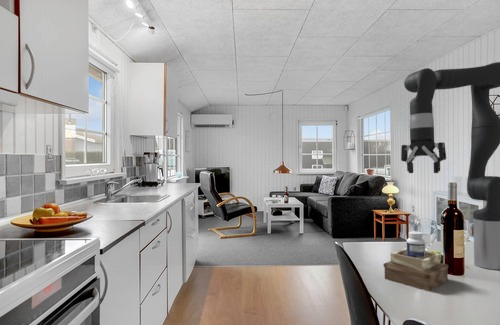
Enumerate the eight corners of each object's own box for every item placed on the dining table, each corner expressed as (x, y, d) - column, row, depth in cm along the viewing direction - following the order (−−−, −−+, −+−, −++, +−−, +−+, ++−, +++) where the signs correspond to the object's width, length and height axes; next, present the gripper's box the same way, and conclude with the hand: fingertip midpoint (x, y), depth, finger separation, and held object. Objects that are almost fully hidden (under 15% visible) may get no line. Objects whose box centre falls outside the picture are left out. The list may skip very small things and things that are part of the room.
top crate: (407, 257, 114) (406, 247, 114) (440, 264, 105) (440, 254, 105) (391, 263, 107) (390, 253, 107) (425, 272, 99) (425, 260, 99)
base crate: (404, 269, 116) (404, 255, 116) (448, 280, 105) (448, 265, 105) (383, 278, 108) (383, 263, 108) (429, 291, 96) (428, 274, 96)
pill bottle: (409, 258, 110) (408, 230, 110) (426, 261, 107) (426, 232, 107) (405, 262, 106) (404, 232, 106) (423, 265, 103) (422, 235, 103)
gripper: (448, 125, 110) (449, 172, 110) (406, 129, 121) (408, 172, 121) (438, 124, 105) (440, 173, 105) (396, 129, 116) (398, 173, 116)
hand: (423, 173), depth 113 cm, fingers open, 8 cm apart
